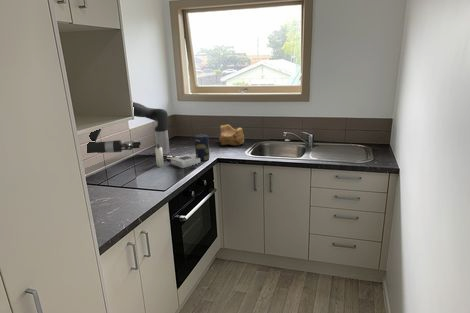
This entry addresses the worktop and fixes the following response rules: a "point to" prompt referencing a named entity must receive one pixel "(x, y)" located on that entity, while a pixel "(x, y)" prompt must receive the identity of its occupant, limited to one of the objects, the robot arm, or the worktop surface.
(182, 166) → the grey square socket block
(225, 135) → the rough brown rock
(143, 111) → the robot arm
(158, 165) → the capped white bottle
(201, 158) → the canister
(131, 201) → the worktop surface
